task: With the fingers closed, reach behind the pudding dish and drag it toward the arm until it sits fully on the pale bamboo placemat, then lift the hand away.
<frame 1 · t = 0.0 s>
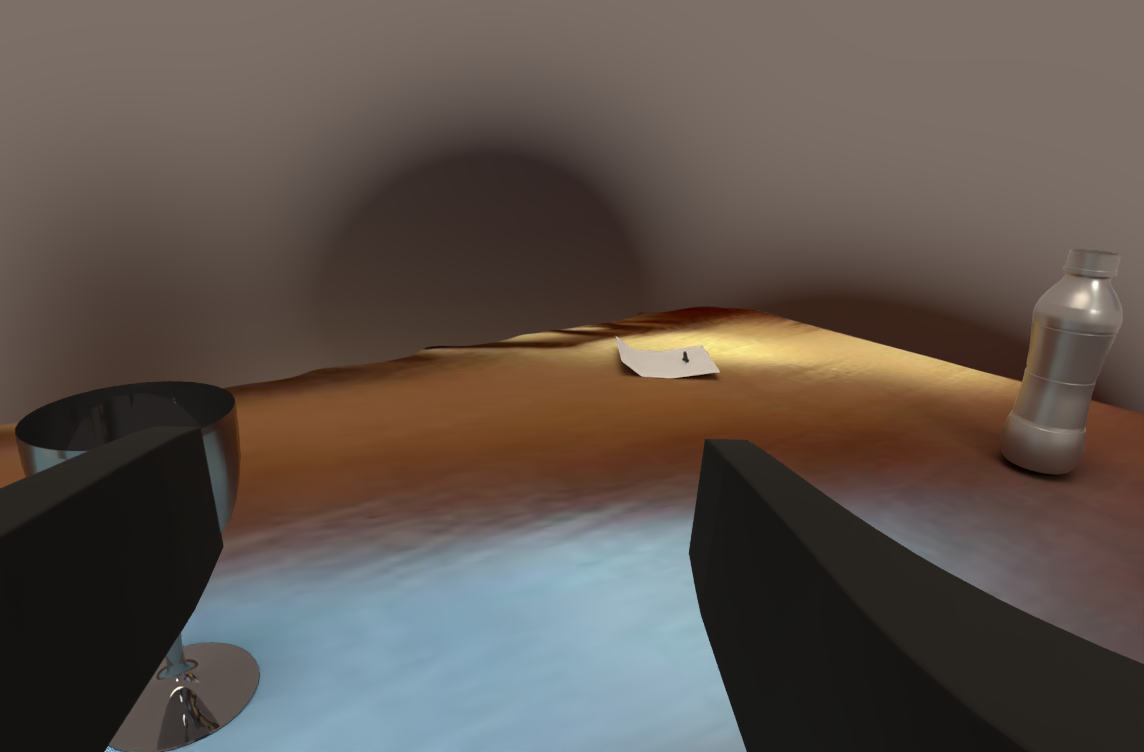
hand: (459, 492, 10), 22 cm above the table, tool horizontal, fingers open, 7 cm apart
plastic bottle: (1033, 468, 64), on the table
wine glass: (181, 696, 34), on the table
folded paper: (663, 365, 90), on the table
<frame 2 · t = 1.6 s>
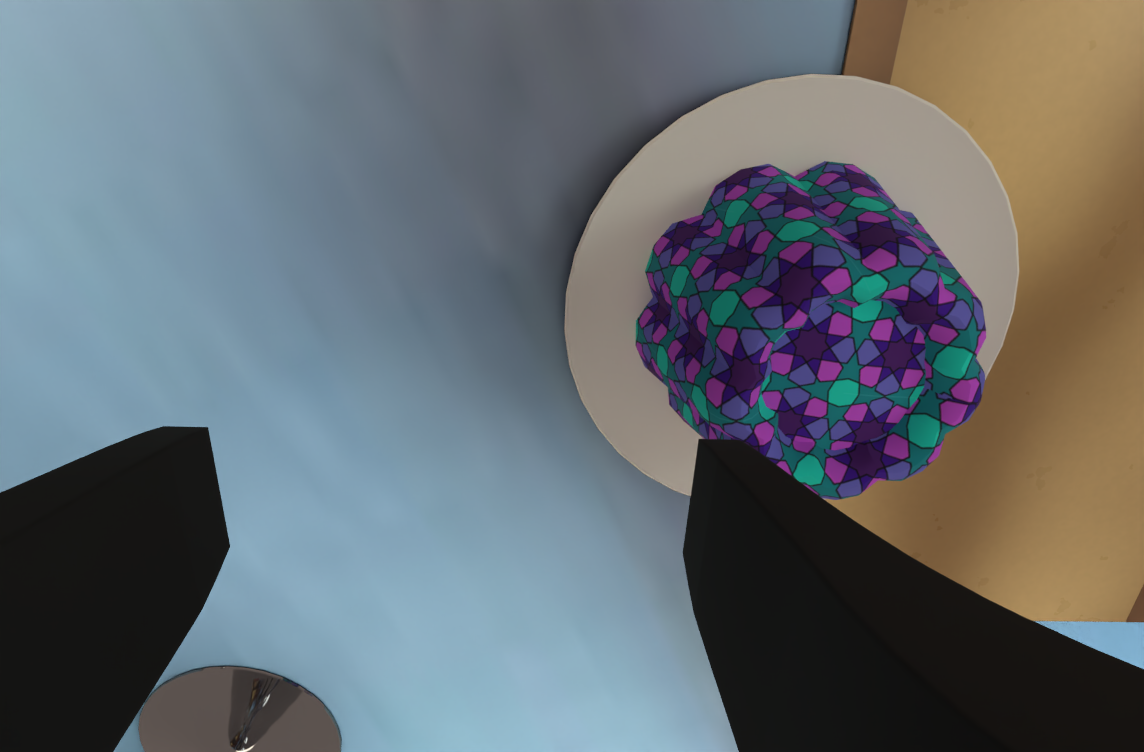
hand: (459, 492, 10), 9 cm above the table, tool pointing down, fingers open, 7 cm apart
pudding: (778, 308, 19), on the table, touching placemat
wine glass: (243, 734, 25), on the table
placemat: (1054, 319, 19), on the table
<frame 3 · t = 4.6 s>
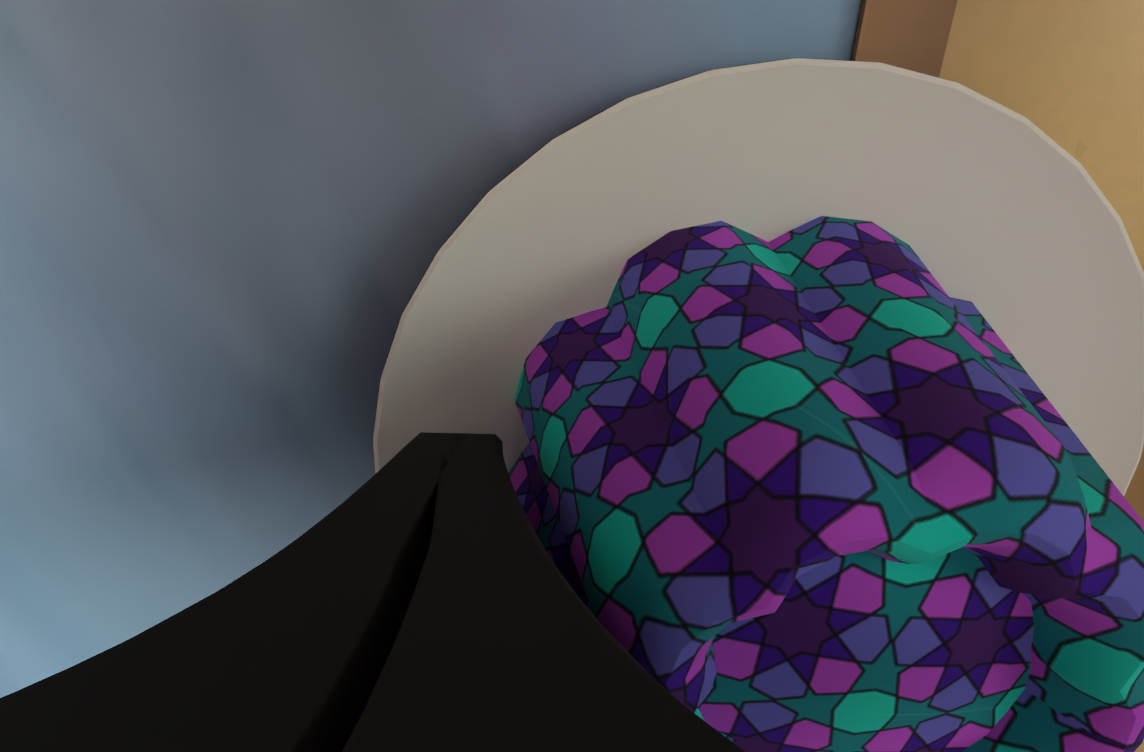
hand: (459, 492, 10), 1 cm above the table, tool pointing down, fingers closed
pudding: (745, 449, 12), on the table, touching gripper, placemat
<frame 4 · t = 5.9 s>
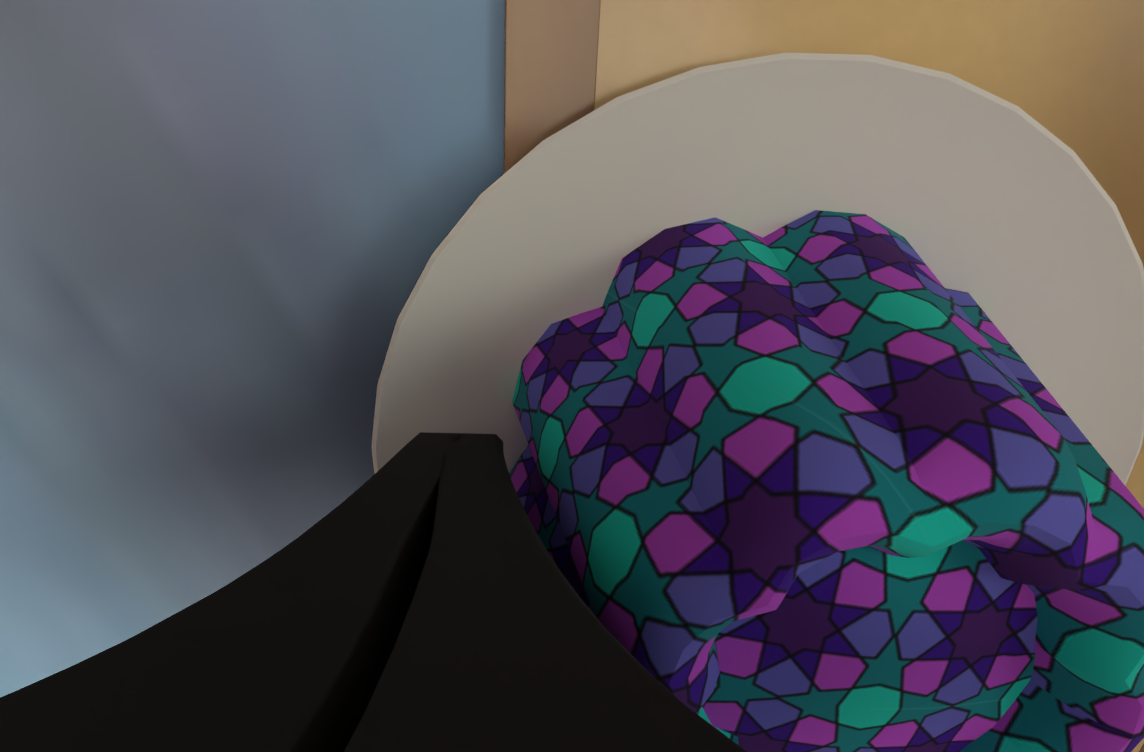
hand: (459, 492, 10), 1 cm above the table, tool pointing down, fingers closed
pudding: (745, 446, 12), resting on placemat, touching gripper
placemat: (941, 455, 12), on the table
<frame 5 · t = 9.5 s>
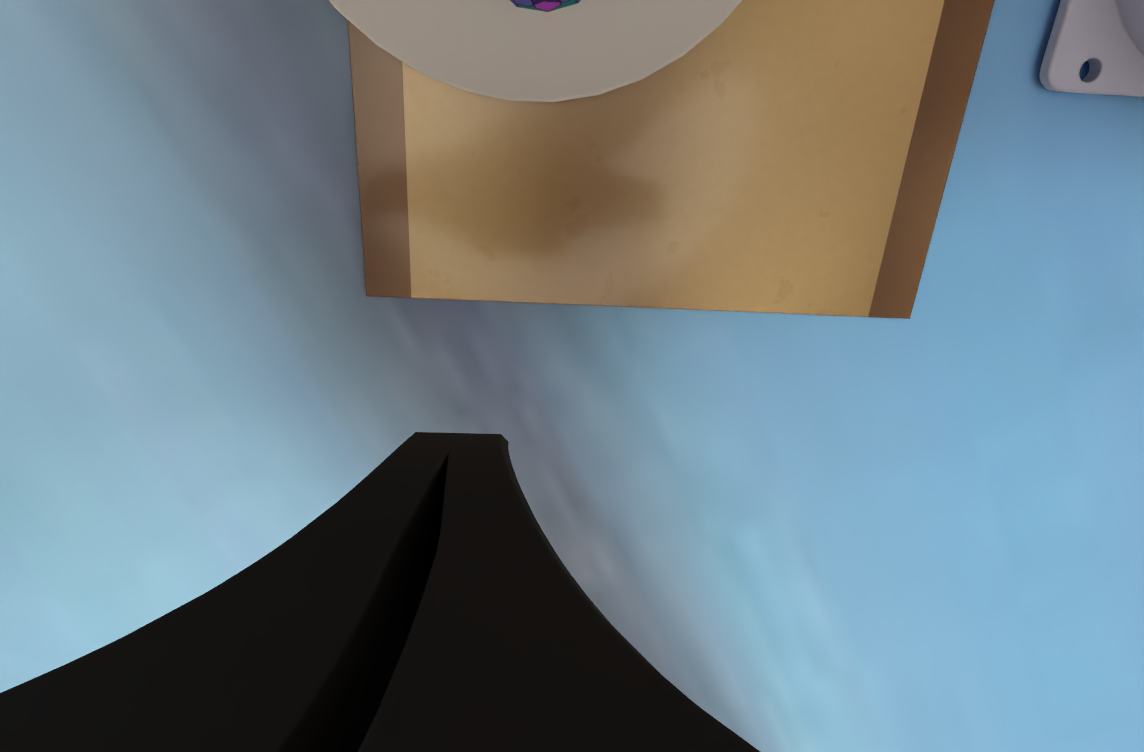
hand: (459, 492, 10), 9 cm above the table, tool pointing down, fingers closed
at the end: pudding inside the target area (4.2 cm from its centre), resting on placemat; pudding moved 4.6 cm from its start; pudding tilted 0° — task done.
